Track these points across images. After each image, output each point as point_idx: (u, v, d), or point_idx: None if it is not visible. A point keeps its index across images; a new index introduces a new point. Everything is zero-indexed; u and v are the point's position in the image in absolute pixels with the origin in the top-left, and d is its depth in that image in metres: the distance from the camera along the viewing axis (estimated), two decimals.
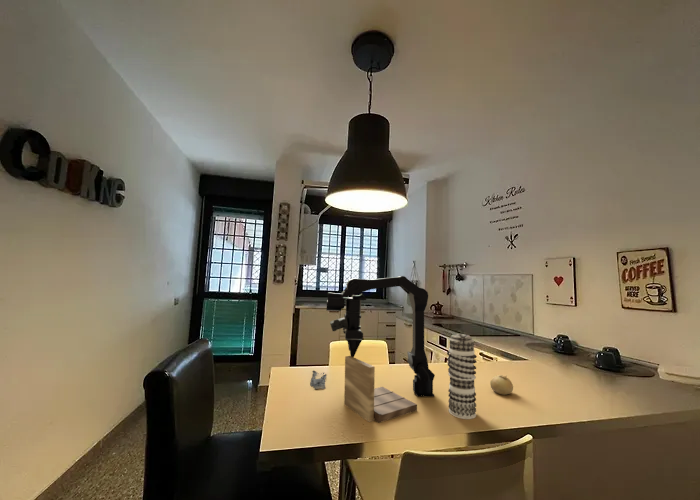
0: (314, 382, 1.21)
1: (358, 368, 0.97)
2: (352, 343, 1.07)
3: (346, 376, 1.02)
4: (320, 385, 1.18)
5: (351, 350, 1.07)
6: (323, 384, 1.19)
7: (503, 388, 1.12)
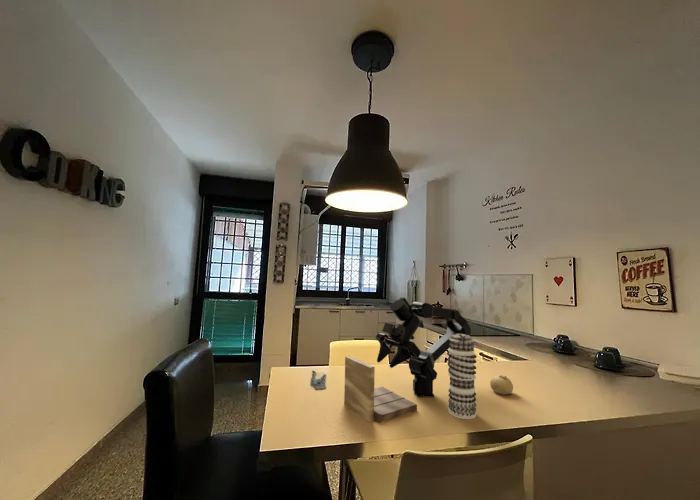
0: (314, 382, 1.21)
1: (358, 368, 0.97)
2: (400, 355, 1.02)
3: (346, 376, 1.02)
4: (320, 385, 1.18)
5: (395, 360, 1.01)
6: (323, 384, 1.19)
7: (503, 388, 1.12)
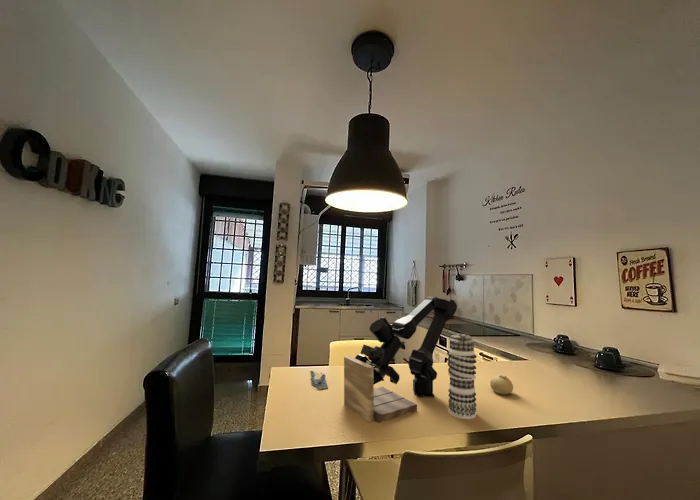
0: (315, 382, 1.21)
1: (357, 368, 0.96)
2: None
3: (345, 376, 1.02)
4: (322, 385, 1.18)
5: None
6: (325, 384, 1.19)
7: (503, 388, 1.12)
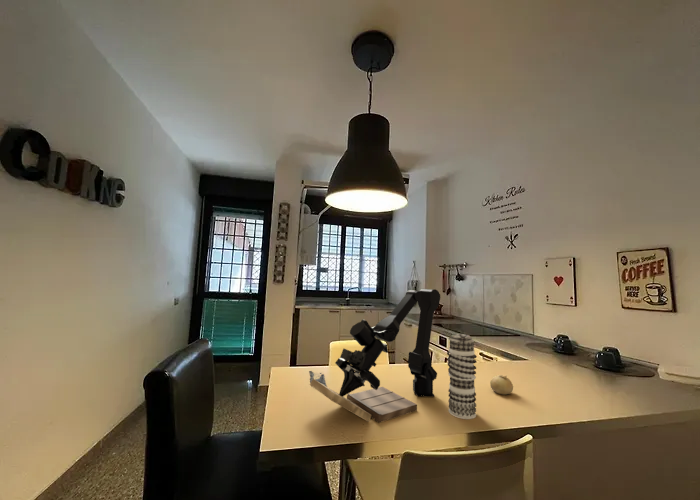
0: None
1: None
2: (352, 382, 0.95)
3: None
4: None
5: (346, 388, 0.94)
6: (324, 384, 1.19)
7: (503, 388, 1.12)
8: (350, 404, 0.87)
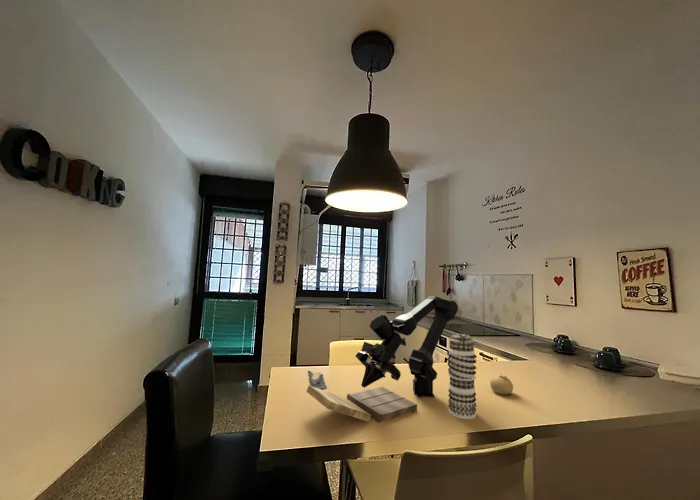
0: (313, 382, 1.21)
1: None
2: (373, 374, 0.99)
3: None
4: (321, 385, 1.18)
5: (368, 380, 0.98)
6: (323, 384, 1.19)
7: (503, 388, 1.12)
8: (347, 408, 0.87)
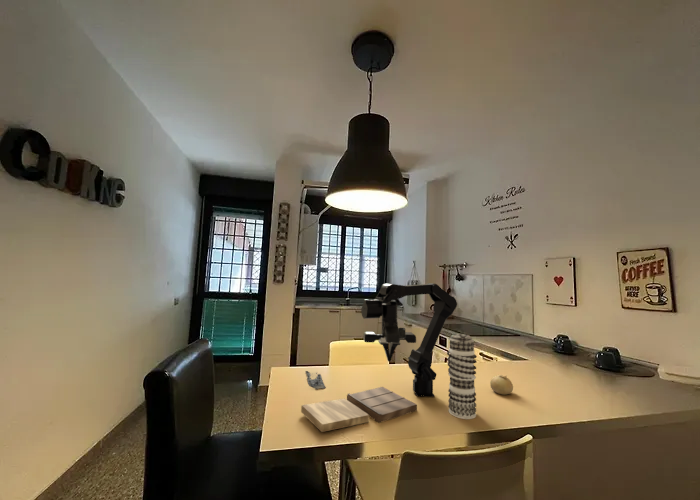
0: (312, 382, 1.21)
1: None
2: None
3: None
4: (319, 385, 1.18)
5: None
6: (322, 384, 1.19)
7: (503, 388, 1.12)
8: (343, 421, 0.86)
